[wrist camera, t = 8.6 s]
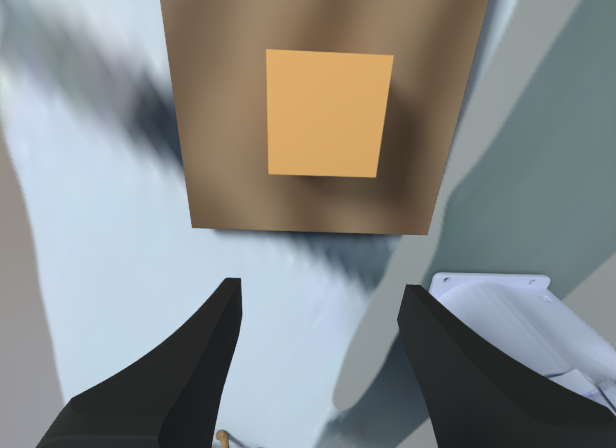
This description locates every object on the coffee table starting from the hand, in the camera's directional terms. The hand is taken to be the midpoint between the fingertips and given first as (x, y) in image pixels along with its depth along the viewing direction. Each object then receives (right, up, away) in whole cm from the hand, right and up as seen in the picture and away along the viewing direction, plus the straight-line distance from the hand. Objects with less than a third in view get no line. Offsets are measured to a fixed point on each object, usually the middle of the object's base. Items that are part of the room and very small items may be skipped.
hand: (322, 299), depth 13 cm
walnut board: (0, +11, +5) cm, 12 cm away
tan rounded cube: (0, +10, +4) cm, 10 cm away
